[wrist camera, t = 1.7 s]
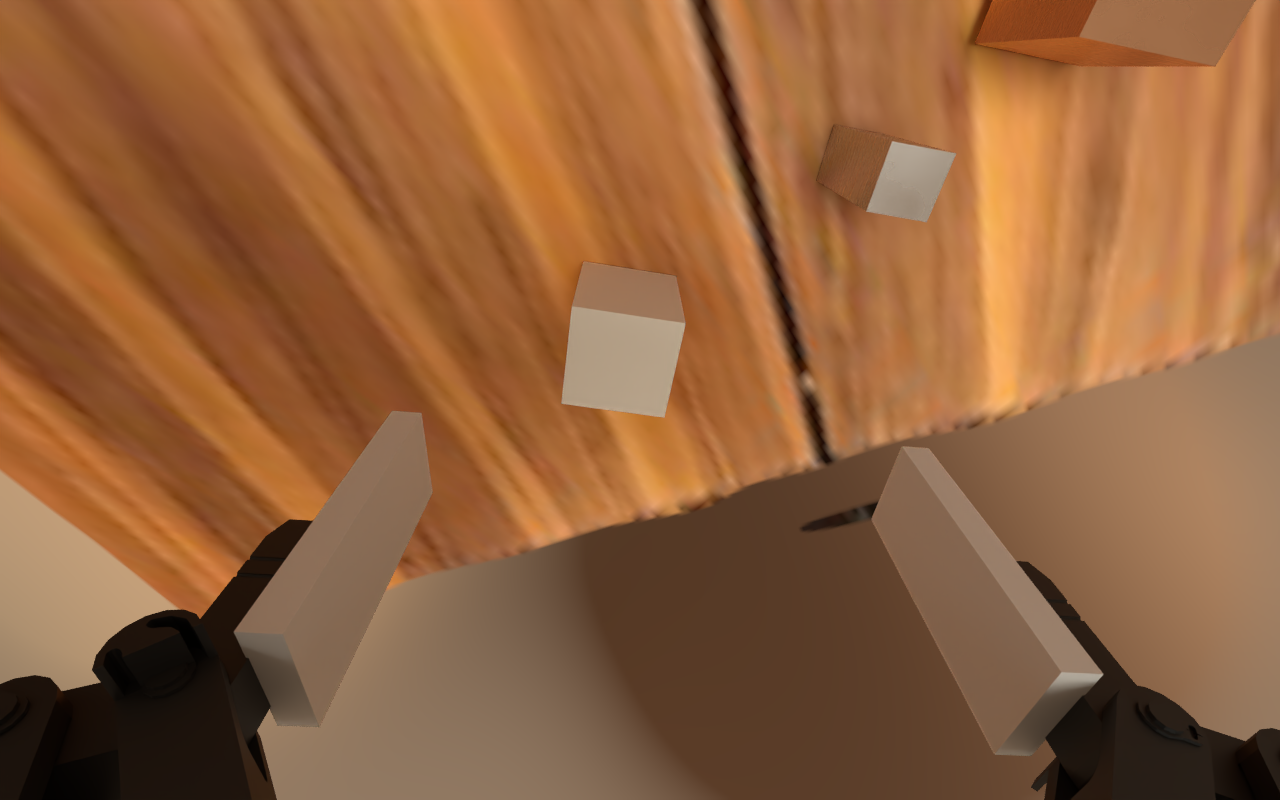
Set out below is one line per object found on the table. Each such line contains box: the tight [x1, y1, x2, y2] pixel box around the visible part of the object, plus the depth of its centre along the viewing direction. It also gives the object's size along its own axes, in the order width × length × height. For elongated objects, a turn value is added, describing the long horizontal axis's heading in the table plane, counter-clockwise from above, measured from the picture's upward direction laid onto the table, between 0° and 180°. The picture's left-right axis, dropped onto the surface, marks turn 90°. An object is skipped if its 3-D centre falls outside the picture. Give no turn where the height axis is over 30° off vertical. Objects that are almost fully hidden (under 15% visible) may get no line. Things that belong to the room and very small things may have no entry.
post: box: [817, 125, 956, 222], centre depth 24 cm, size 3×3×7 cm
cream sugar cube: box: [561, 261, 686, 417], centre depth 29 cm, size 5×5×7 cm
